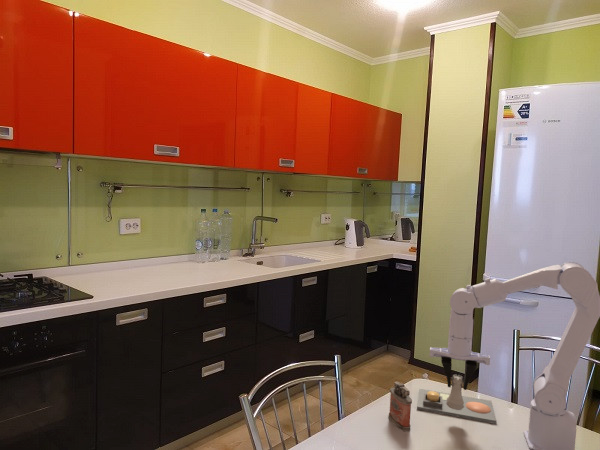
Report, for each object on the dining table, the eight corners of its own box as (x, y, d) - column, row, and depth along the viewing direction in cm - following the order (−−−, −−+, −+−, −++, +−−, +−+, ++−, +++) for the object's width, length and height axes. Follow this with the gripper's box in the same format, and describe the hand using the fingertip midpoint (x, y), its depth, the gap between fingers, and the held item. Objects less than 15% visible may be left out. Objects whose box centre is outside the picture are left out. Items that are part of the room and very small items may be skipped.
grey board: (491, 403, 125) (491, 396, 125) (496, 423, 114) (496, 416, 114) (419, 391, 131) (419, 384, 131) (416, 409, 120) (417, 402, 120)
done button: (438, 397, 124) (439, 392, 123) (438, 402, 120) (439, 397, 120) (427, 395, 125) (427, 390, 124) (426, 400, 121) (427, 395, 121)
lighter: (385, 415, 116) (387, 378, 115) (396, 414, 117) (399, 377, 116) (401, 431, 108) (403, 392, 108) (413, 429, 109) (415, 391, 109)
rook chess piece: (466, 411, 111) (469, 381, 111) (448, 409, 112) (450, 379, 111) (461, 403, 116) (464, 373, 115) (444, 401, 116) (446, 372, 116)
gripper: (489, 334, 114) (485, 385, 115) (431, 327, 118) (428, 376, 119) (492, 343, 107) (488, 396, 108) (430, 335, 112) (427, 387, 113)
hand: (457, 387), depth 113 cm, fingers closed on rook chess piece, 3 cm apart
